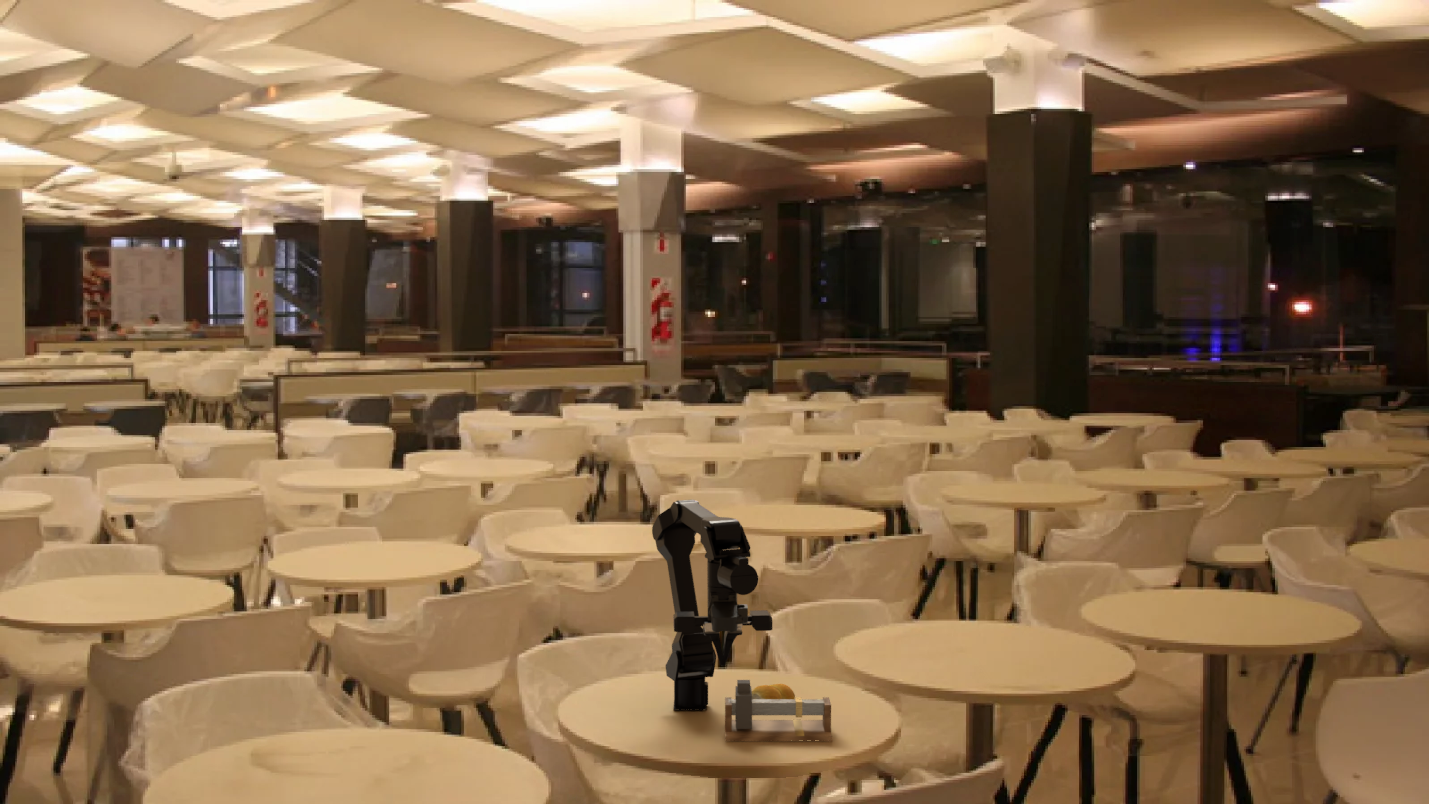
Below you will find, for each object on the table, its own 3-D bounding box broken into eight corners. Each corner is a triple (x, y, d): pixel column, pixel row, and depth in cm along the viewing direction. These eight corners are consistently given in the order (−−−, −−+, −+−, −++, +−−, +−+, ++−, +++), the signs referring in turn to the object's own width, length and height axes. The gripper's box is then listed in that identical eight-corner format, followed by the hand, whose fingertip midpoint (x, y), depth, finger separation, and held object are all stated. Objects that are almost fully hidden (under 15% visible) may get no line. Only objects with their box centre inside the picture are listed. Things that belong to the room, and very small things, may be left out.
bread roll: (802, 704, 297) (802, 685, 296) (766, 711, 292) (766, 692, 291) (778, 694, 303) (778, 675, 303) (743, 701, 299) (743, 682, 298)
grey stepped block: (736, 728, 274) (736, 686, 273) (735, 718, 280) (735, 677, 280) (751, 728, 274) (752, 686, 273) (750, 718, 280) (751, 677, 280)
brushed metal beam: (728, 717, 275) (728, 701, 275) (728, 712, 278) (728, 697, 278) (827, 717, 276) (827, 701, 275) (826, 712, 279) (826, 697, 278)
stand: (725, 741, 272) (725, 708, 272) (724, 724, 282) (725, 693, 282) (832, 741, 272) (832, 709, 272) (827, 724, 282) (827, 693, 282)
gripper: (674, 594, 268) (675, 677, 269) (775, 593, 269) (775, 675, 270) (673, 582, 279) (673, 662, 280) (769, 581, 280) (769, 660, 281)
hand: (722, 665), depth 278 cm, fingers closed
